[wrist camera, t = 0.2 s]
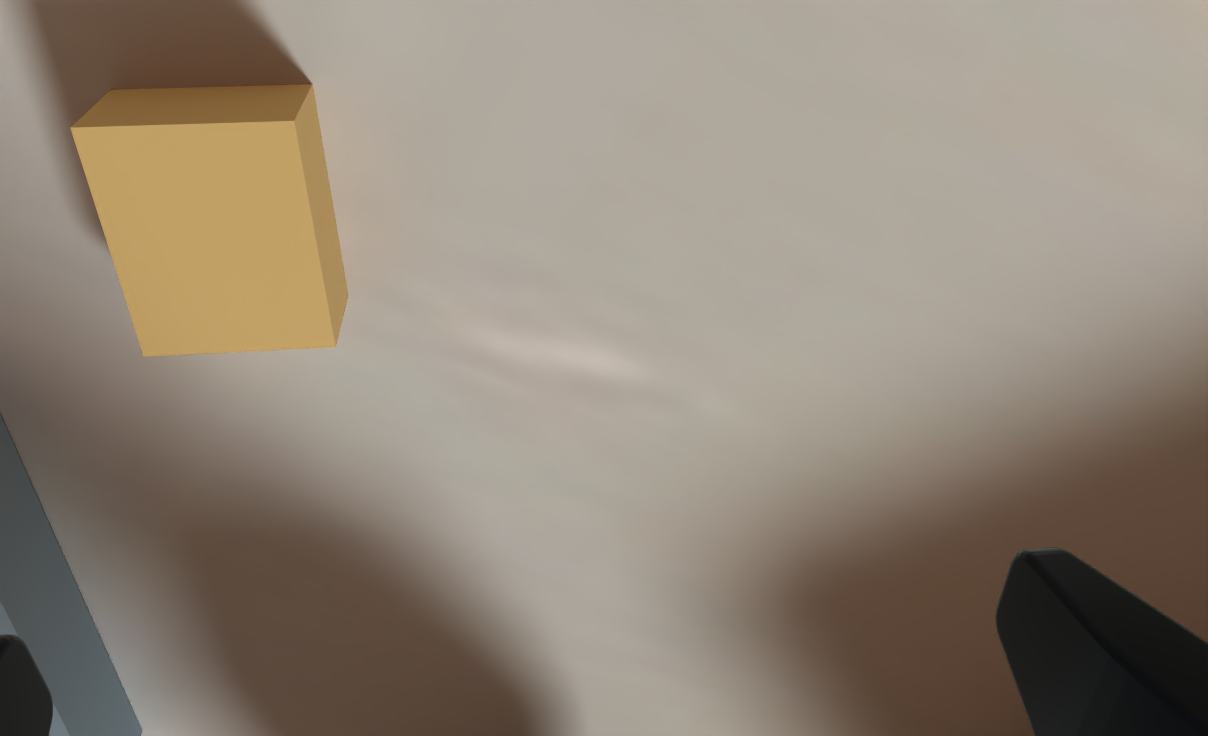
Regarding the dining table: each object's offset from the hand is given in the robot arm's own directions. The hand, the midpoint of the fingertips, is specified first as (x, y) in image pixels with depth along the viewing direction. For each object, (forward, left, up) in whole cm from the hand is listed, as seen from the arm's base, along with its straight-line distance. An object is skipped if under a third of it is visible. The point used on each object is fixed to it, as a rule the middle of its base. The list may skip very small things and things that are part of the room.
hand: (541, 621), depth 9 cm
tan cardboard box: (-2, +6, -14) cm, 16 cm away
